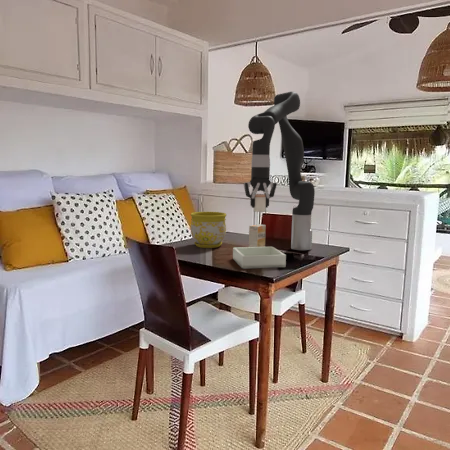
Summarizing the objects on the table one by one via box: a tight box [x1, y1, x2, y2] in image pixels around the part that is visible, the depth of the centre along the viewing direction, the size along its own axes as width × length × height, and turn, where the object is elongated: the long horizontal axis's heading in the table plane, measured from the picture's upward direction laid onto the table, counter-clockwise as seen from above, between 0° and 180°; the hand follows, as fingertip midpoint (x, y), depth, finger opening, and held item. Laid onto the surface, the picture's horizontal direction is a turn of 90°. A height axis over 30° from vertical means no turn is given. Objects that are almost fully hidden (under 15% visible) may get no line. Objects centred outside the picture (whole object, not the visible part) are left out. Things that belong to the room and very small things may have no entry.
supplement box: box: [248, 223, 267, 247], centre depth 200 cm, size 8×5×13 cm, turn 148°
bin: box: [232, 246, 287, 270], centre depth 180 cm, size 18×18×5 cm
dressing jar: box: [253, 193, 267, 213], centre depth 177 cm, size 5×5×7 cm
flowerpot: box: [190, 211, 227, 249], centre depth 215 cm, size 18×18×16 cm
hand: (259, 207), depth 177 cm, fingers closed on dressing jar, 5 cm apart
